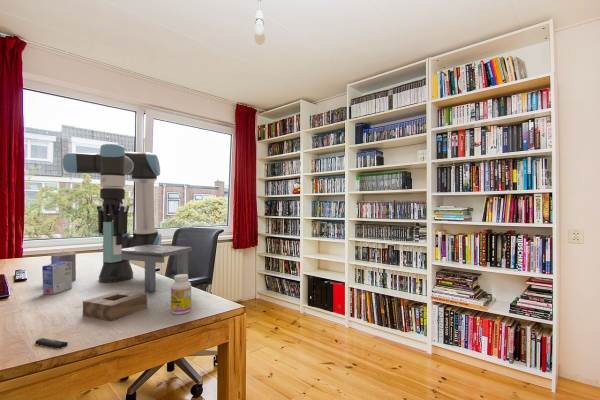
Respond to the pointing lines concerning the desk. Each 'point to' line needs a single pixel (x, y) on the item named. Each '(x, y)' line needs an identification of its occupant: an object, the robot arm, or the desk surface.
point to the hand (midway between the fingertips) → (112, 253)
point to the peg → (109, 243)
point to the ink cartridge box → (57, 276)
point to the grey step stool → (157, 260)
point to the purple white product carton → (67, 260)
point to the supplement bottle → (180, 295)
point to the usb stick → (51, 343)
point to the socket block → (114, 305)
